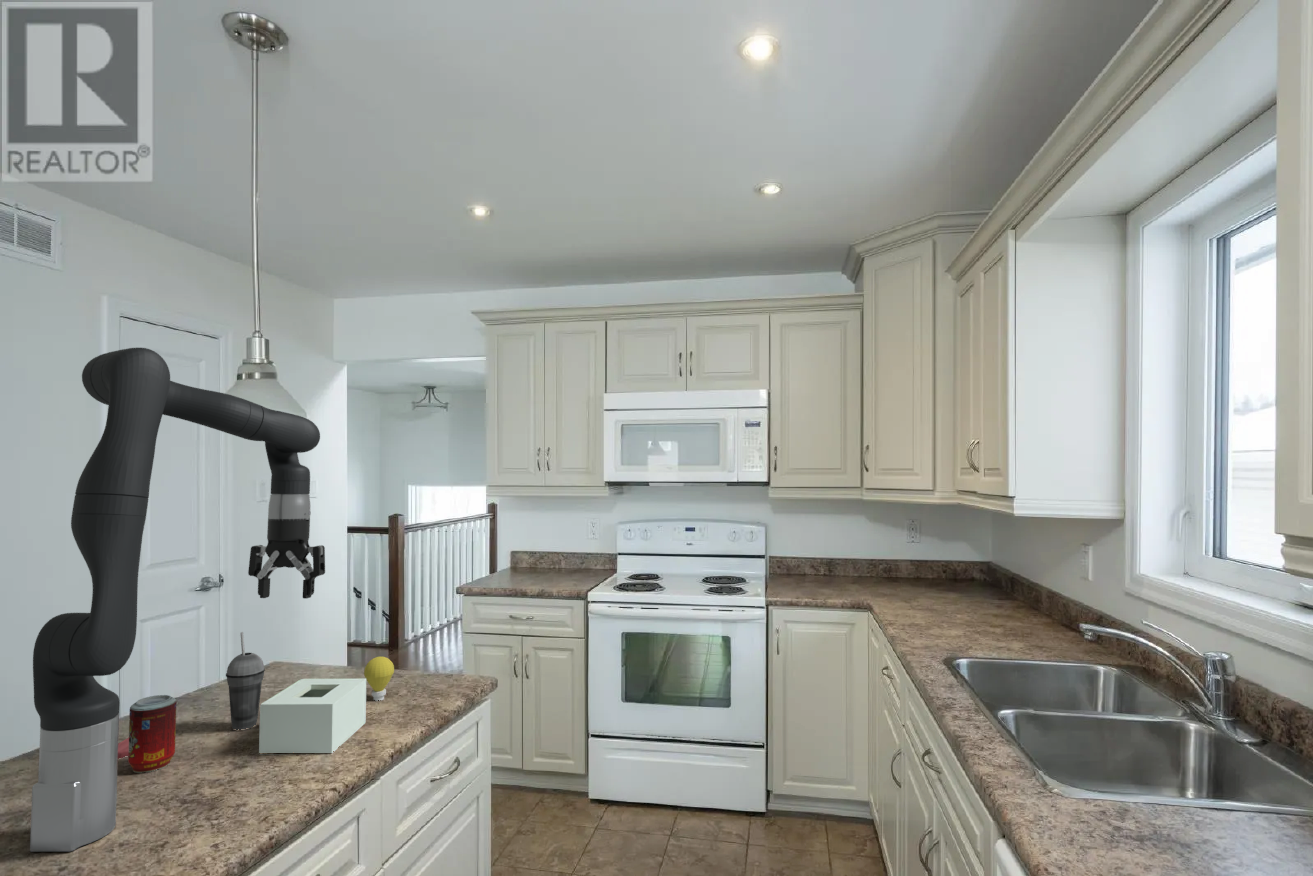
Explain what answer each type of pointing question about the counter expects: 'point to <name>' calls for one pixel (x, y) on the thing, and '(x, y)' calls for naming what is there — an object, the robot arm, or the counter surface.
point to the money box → (312, 716)
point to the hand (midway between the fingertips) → (285, 597)
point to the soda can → (152, 733)
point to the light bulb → (378, 675)
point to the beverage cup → (245, 688)
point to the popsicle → (123, 748)
